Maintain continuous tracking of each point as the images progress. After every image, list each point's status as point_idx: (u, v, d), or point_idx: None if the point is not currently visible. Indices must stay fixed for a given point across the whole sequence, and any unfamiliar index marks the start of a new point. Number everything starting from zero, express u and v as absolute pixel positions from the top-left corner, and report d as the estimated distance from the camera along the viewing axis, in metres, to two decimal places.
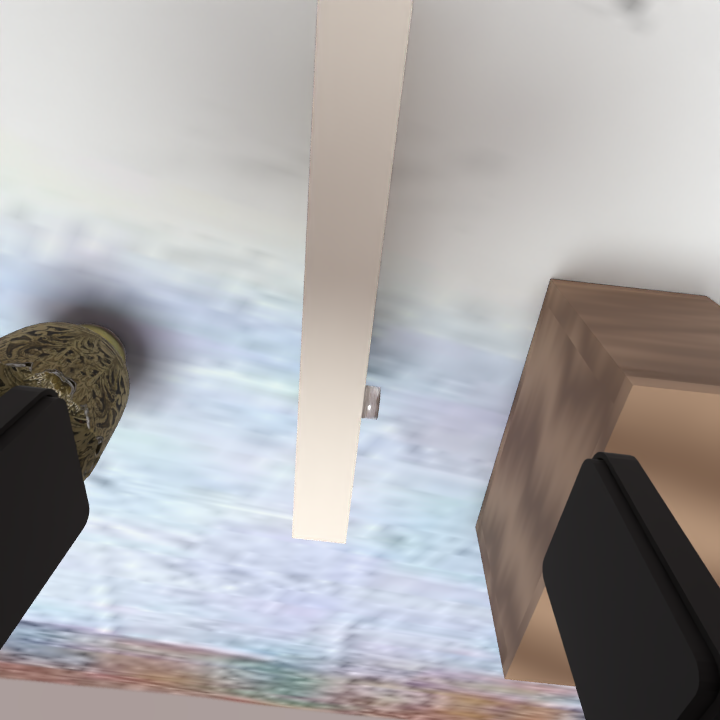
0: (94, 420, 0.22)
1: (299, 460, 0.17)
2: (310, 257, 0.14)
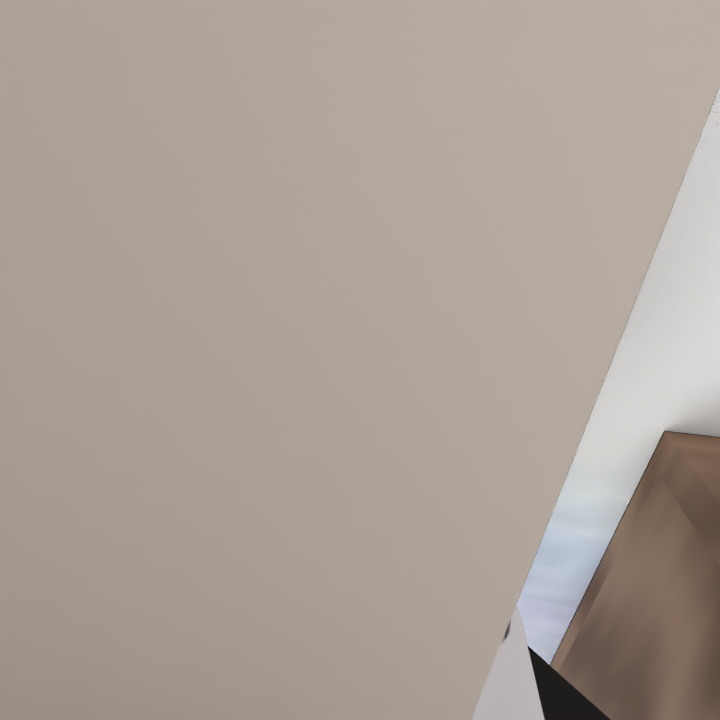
0: None
1: None
2: None
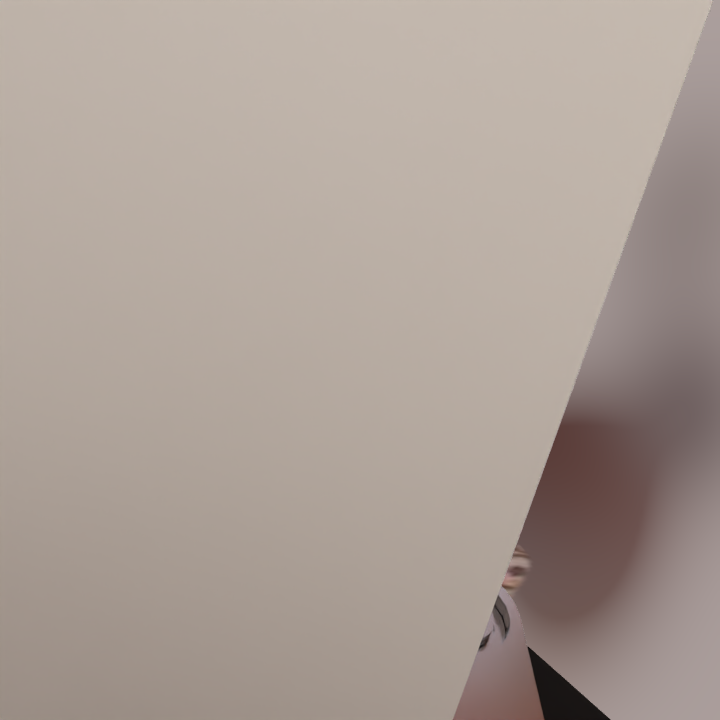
0: None
1: None
2: None
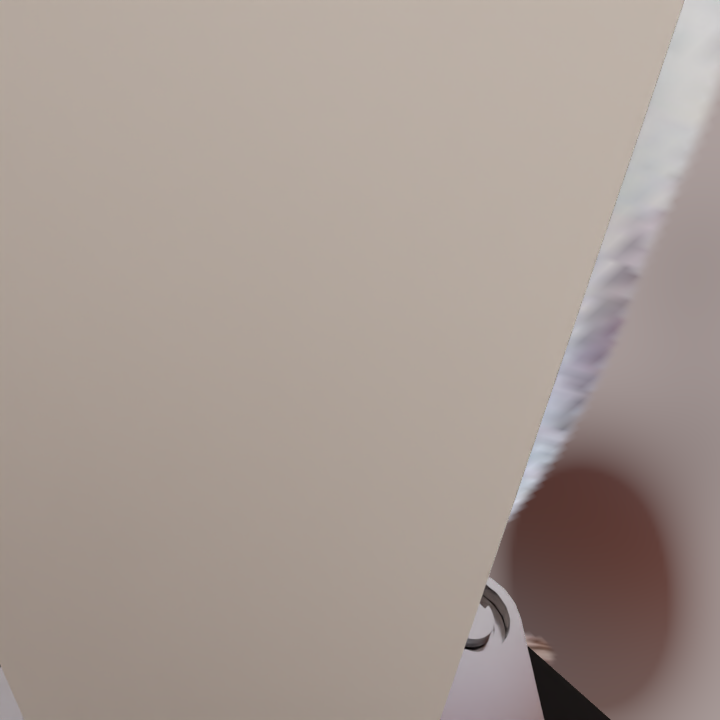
0: None
1: None
2: None
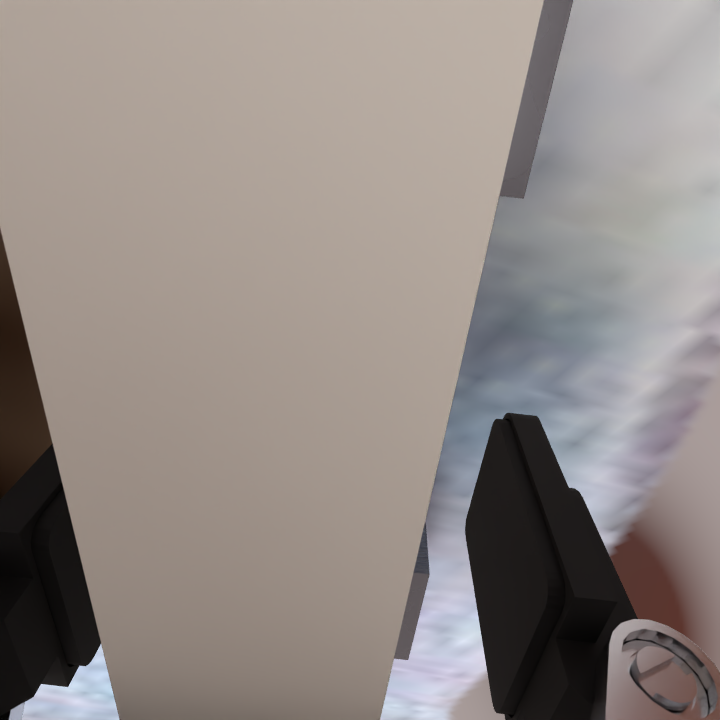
0: None
1: None
2: None
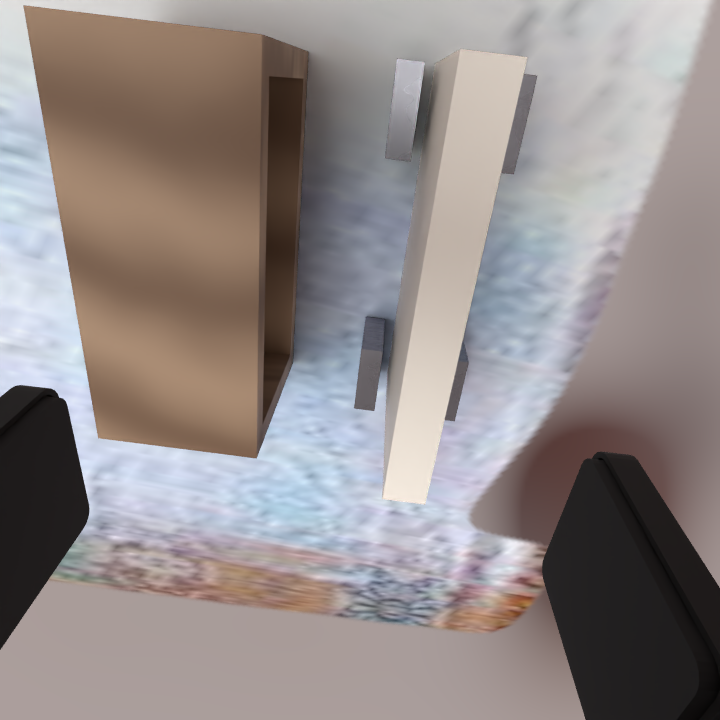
0: None
1: (396, 434, 0.22)
2: (424, 278, 0.19)
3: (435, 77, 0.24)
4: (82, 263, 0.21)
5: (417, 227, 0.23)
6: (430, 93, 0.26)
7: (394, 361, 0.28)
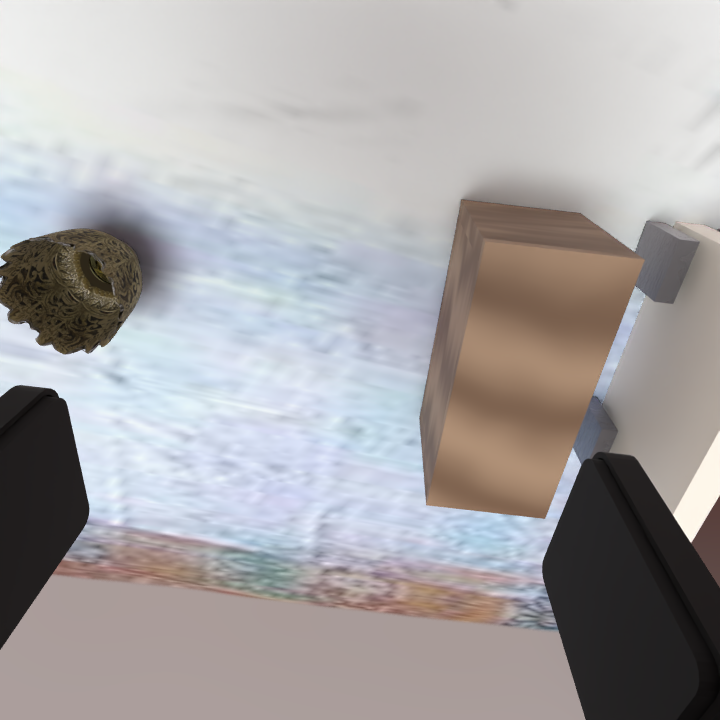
0: (118, 291, 0.31)
1: (678, 507, 0.31)
2: None
3: None
4: (462, 391, 0.30)
5: (681, 353, 0.32)
6: None
7: (631, 439, 0.36)
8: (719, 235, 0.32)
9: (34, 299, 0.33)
